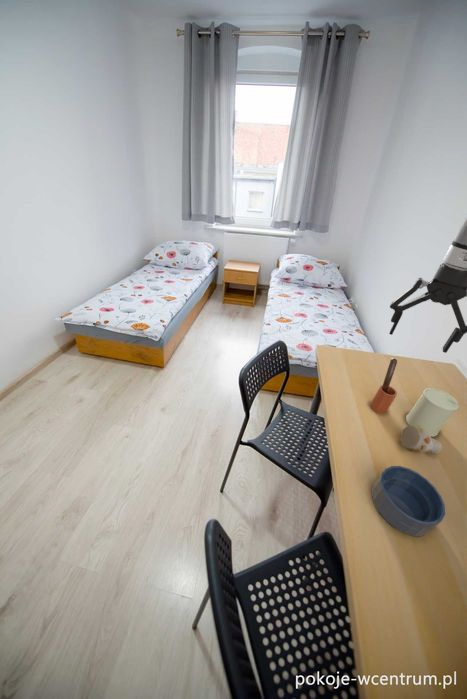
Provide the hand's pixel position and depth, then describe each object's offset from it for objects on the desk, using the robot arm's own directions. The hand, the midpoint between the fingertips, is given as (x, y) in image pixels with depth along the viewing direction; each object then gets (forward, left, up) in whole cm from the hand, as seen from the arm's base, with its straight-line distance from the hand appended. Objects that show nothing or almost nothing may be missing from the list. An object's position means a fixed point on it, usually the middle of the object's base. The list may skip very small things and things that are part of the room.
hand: (416, 341), depth 78 cm
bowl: (-9, +33, -26) cm, 43 cm away
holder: (0, +1, -26) cm, 26 cm away
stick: (0, +1, -26) cm, 26 cm away
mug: (-12, +11, -26) cm, 31 cm away
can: (-13, 0, -26) cm, 29 cm away
